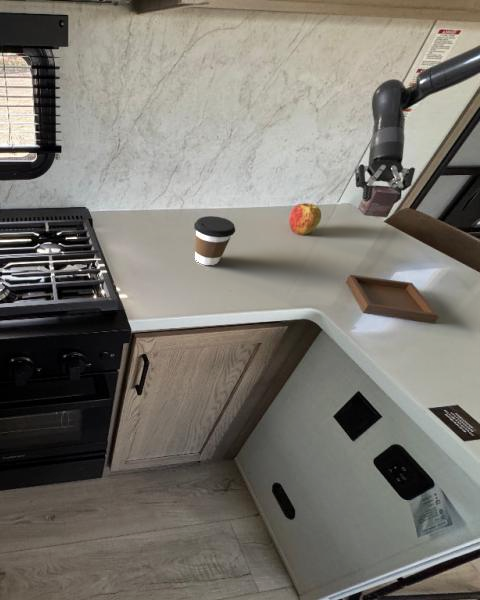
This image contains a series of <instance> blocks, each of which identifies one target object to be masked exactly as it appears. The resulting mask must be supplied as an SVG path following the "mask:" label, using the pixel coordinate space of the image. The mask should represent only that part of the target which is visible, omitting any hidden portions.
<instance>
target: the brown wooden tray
mask: <svg viewBox="0 0 480 600" xmlns="http://www.w3.org/2000/svg"><path fill="white" fill-rule="evenodd" d="M345 283H346V285H347V287H348V289H349V290H350V292H351V294H352V296H353V298H354V299H355V301H356V303H357V304H358V307H359V308H360V309H361V311H362V313H363V314H369V315H374V316H375V315H376V316H383V317H388V318H394V317H396V318H395V319H401V318H402V319H401V320H407V319H409V320H408V321H415V322H420V323H421V322H422V323H426V324H435V323H436V321H437V320H438V318H440V314H439V313H438V312H437V311H436V310H435V308H434V307H433V306H432V305H431V304H430V302H429V301H428V299H426V298H425V296H424V295H423V294H422V293H421V292H420V291H419V289H418V288H417V287H416V286H415V285H414V283H413V282H408V281H401V280H394V279H386V278H379V277H370V276H362V275H355V274H349V275H348V277H347V279H346V280H345Z"/></svg>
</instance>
